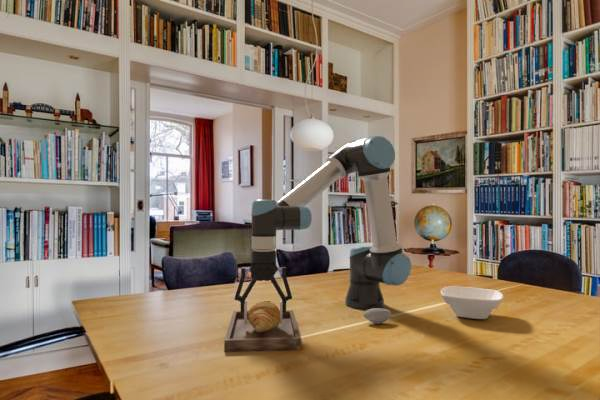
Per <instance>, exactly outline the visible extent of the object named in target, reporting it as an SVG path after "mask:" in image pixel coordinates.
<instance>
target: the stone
mask: <svg viewBox="0 0 600 400" xmlns="http://www.w3.org/2000/svg"><path fill="white" fill-rule="evenodd" d="M362 315H363V317H364V319H366V320H368V321H369V322H370V323H372V324H376V325H381V324H383V323H385V322H387V321H389V319H390V318H391V317H392V312H391V310H389V309H387V308H382V307H381V308H373V309H366V310H365V311H364V312H363V313H362Z"/></svg>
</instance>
